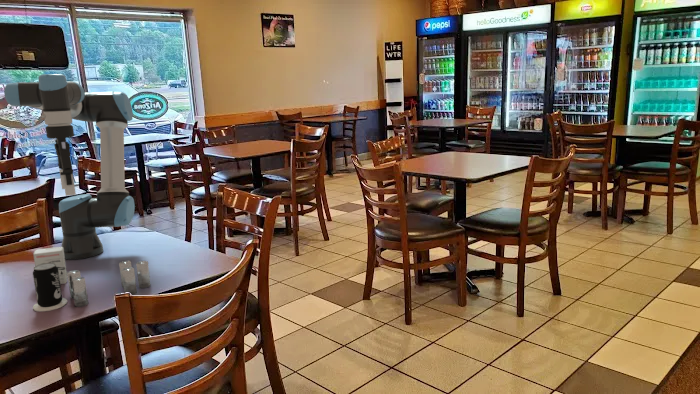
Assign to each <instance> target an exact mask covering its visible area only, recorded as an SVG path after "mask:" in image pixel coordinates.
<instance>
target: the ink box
mask: <svg viewBox="0 0 700 394" xmlns="http://www.w3.org/2000/svg"><path fill="white" fill-rule="evenodd" d="M33 261H34V267H35V266H37V265H39V264H44V263H55V264H56V267H57V268H58V272H59V278H60V285H64V284H66V283H67V282H68V276H67V273H68V271H67V264H66V259H65V256H64V248H63V247H61V246H56V247H47V248H38V249H35V250H34V251H33Z"/></svg>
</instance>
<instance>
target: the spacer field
mask: <svg viewBox="0 0 700 394" xmlns="http://www.w3.org/2000/svg"><path fill="white" fill-rule="evenodd" d="M118 265H119V274H120V282H121V287H122V288H123V290H124V291H123V292H124V293H125V292H130V293H131V294H132V295H131V296H134V295H136V294H137V293H138V290H137V284H138V288H139V289H146V287H147V288H149V287H151V276H150V268H149V262H148V261H147V260H143V261H142V260H141V261H138V262H136V263H135V266H136V272H135V268H134V267H132V261H131V260H123V261H119V262H118ZM135 273H137V274H135ZM136 275H137V281H136ZM67 278H68V279H67V282H68V289H69V295H70V299H73V300H74V306H75V307H76V308H77V307H78V308H79V307H85V306H87V305H89V297H88V292H87V291H88V290H87V284H86V278H85V277H83V276H81V270H78V269H76V270H75V269H74V270H70V271H67ZM137 282H138V283H137Z"/></svg>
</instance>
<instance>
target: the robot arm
mask: <svg viewBox="0 0 700 394" xmlns="http://www.w3.org/2000/svg"><path fill="white" fill-rule="evenodd" d="M3 89H4V90H3V93H4V98H5V101H6V102H7V104H9V105H10V106H12V107H19V108H20V107H30V108H35V109H38V110H42V112H43V114H41V118H42V119H44V124H45V125H46V127H45V132H46V138H47V139H50V140H51V139H52V140H53V139H54V141H55V142H54V143H53V144H54V150H55V152H56V154H55V155H56V157H57V166H58V168H59V176H60V183H61V190H64V192H65V196H67V197H66V198H64V199H62V200H60V201H59V203H58V214H59V219H60V226H61V230H62V231H61V232H62V242H61V246H60V247H63V248H64V256H65V260H82V259H88V258H92V257H95V256H98V255H100V254H101V253H103V252H104V246H103V243H102V242H101V240H100V237H99V236H98V234H97V230H96V228H111V227H114V228H115V227H117V228H119V227H126V226H128V225H130V224H131V222H132V220H133V218H134V217H135V216H134V214H135V207H136V205H135V200H134V198H133V197H132V195H130V192H129V191H128V190H127V189H126V188H125V187H126V184H125V182H126V181H125V133H124V131H125V129H126V128H127V127H128V123H129V122H131V121H132V120H133V117H134V116H133V115H134V112H133V107H132V103H131V100H130V98H129V97H128V95H127V94H126V93H125V92H124V91H101V92H100V91H97V92H95V91H93V92H89V91H87V92H85V90H84V87H83V86H82V85H81V84H80V83H78V82H76V81H72V80H67V76H66V75H65V74H62V73H58V74H57V73H54V74H52V73H50V74H49V73H48V74H46V73H44V74H40V75H39V76H38V82H37V81H35V82H33V81H31V82H30V81H29V82H28V81H27V82H21V81H20V82H19V81H17V82H9V83H7V84H6V85H5V87H4V88H3ZM73 120H76V121H82V122H87V123H88V122H89V123H91V122H92V123H93V122H94V123H95V126H96V127H98V128H99V131H100V132H99V135H100V136H99V137H100V138H99V141H100V143H99V144H100V147H99V148H100V189H99V190H98V191H96V197H92V195H91V194H90V193H86V194H85V193H84V194H77V193H76V187H75V179H74V174H73V173H74V170H73V165H72V159H71V151H70V150H71V145H70V143H69V142H68V141H67V139H68V138H70V139H71V138H74V137H75V132H74V126H73V125H72V123H73ZM68 196H69V197H68Z"/></svg>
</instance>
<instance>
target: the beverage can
mask: <svg viewBox="0 0 700 394" xmlns="http://www.w3.org/2000/svg"><path fill="white" fill-rule="evenodd" d="M32 278H33V283H34V289H35V295H36V303H38V305H40V306H41V307H51V306H55V305H57V304H59V303H60V302H61V301H62V298H63V293H62V288H61V287H62V286H61V285H62V284H60V278H59V272H58V268H57V267H56V264H55V263H44V264H39V265H37V266H35V265H34V266H33V271H32Z"/></svg>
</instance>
